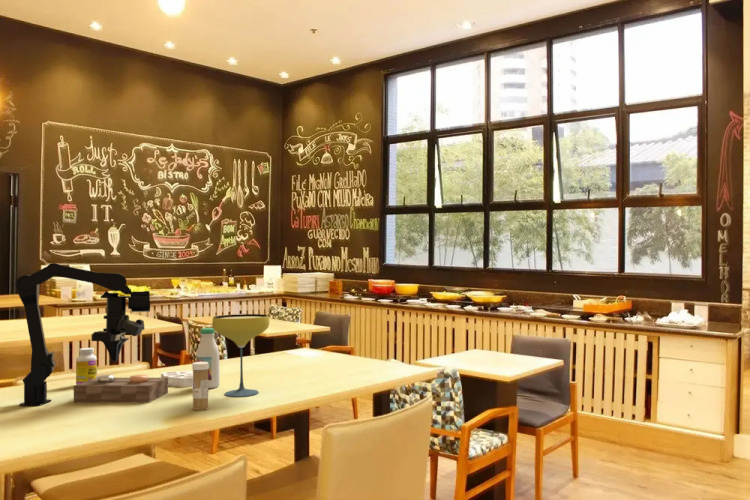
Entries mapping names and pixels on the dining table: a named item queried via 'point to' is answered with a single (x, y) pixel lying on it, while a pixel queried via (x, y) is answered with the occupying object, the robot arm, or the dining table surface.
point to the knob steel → (105, 379)
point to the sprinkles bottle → (200, 385)
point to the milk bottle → (209, 356)
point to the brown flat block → (120, 390)
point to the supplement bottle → (86, 365)
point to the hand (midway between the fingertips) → (114, 360)
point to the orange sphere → (138, 378)
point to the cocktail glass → (240, 338)
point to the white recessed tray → (179, 378)
